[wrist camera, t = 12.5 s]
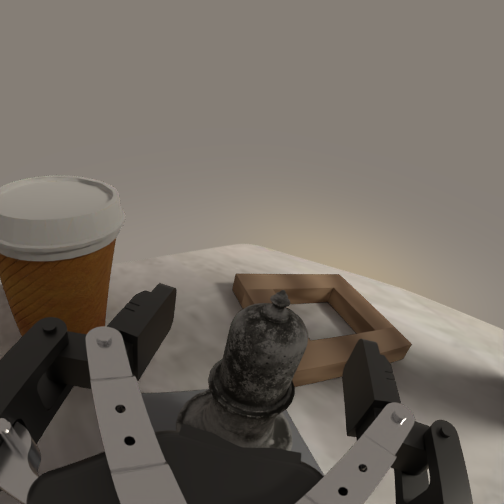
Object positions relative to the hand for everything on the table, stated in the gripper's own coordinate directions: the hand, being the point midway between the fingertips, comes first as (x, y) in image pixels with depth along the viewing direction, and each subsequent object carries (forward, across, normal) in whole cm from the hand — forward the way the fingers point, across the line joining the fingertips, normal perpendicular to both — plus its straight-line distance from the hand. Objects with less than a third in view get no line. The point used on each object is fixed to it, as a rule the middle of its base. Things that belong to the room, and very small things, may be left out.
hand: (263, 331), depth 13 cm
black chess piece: (-2, 0, +9) cm, 9 cm away
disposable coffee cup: (+3, +14, +10) cm, 17 cm away
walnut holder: (+16, -6, +10) cm, 20 cm away
